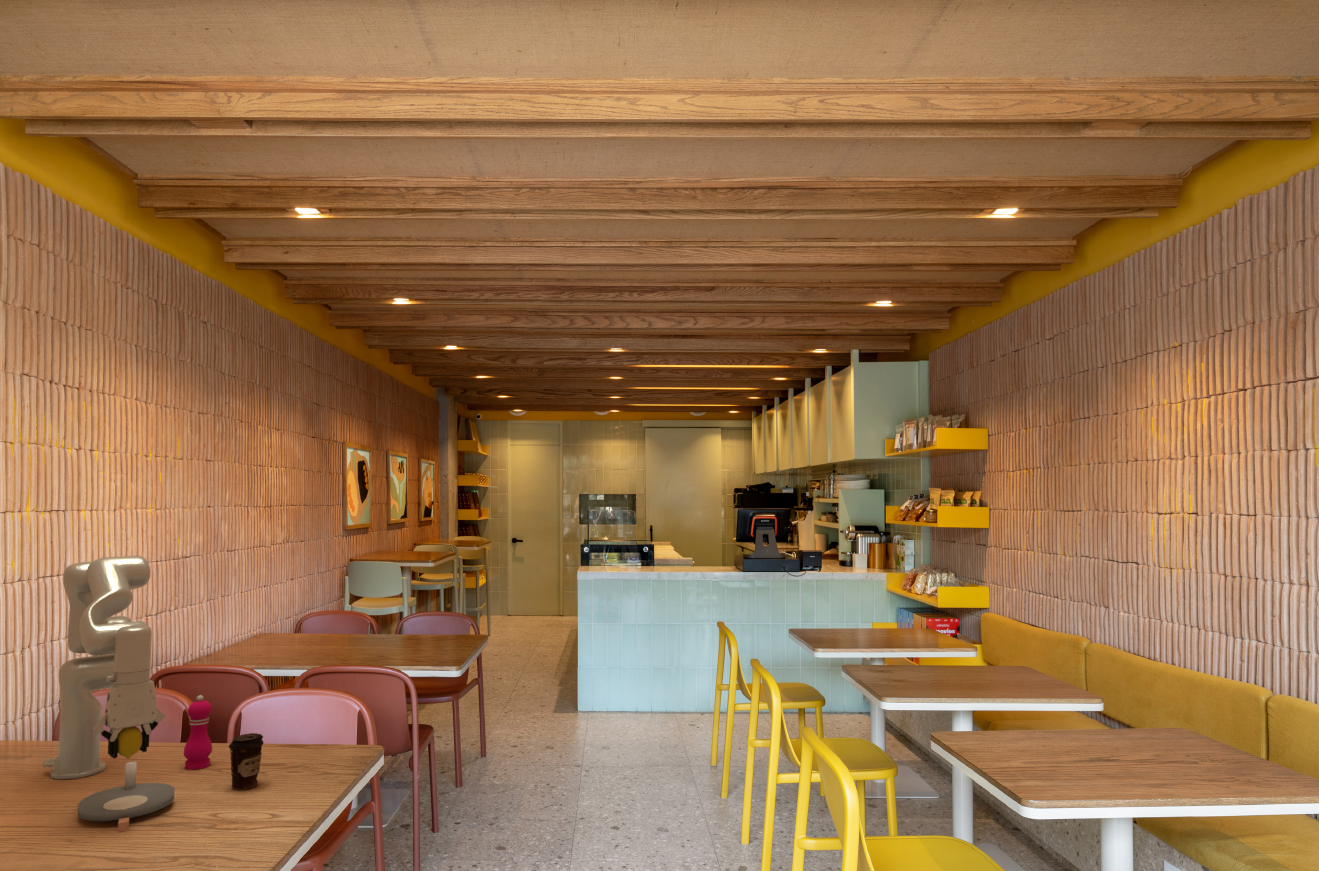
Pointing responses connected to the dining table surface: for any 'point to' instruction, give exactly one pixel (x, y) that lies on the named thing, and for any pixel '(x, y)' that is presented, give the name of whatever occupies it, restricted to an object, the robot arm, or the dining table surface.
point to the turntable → (126, 799)
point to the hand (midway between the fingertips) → (128, 753)
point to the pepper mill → (198, 736)
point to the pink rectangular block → (123, 824)
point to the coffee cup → (245, 760)
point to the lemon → (129, 741)
